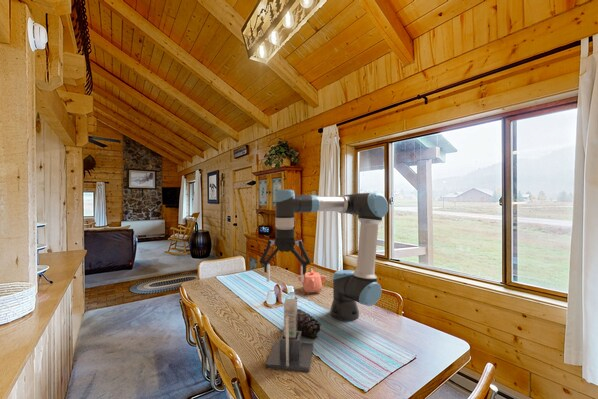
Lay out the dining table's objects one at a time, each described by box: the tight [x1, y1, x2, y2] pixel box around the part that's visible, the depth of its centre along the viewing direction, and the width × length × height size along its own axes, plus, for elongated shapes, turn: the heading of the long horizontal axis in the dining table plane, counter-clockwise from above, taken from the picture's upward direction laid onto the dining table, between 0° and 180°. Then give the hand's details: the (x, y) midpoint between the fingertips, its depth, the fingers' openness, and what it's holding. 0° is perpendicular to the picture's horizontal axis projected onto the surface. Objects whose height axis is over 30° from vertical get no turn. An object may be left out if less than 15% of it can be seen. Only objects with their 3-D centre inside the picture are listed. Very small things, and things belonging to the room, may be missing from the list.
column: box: [283, 298, 298, 339], centre depth 104 cm, size 4×5×20 cm
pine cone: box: [297, 308, 321, 341], centre depth 124 cm, size 10×18×10 cm, turn 59°
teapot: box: [297, 268, 328, 295], centre depth 178 cm, size 17×16×13 cm
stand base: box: [265, 316, 314, 372], centre depth 105 cm, size 16×16×19 cm
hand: (285, 281), depth 107 cm, fingers open, 13 cm apart
